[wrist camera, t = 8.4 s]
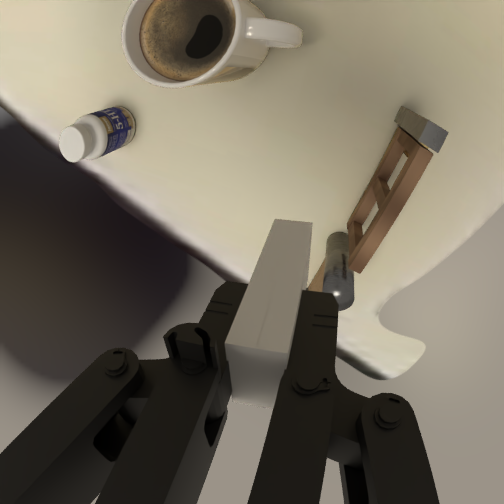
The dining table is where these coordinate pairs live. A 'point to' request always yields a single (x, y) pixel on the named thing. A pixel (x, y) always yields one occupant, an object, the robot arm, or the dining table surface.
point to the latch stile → (421, 129)
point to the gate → (385, 197)
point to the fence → (336, 270)
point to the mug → (200, 40)
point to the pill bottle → (97, 134)
